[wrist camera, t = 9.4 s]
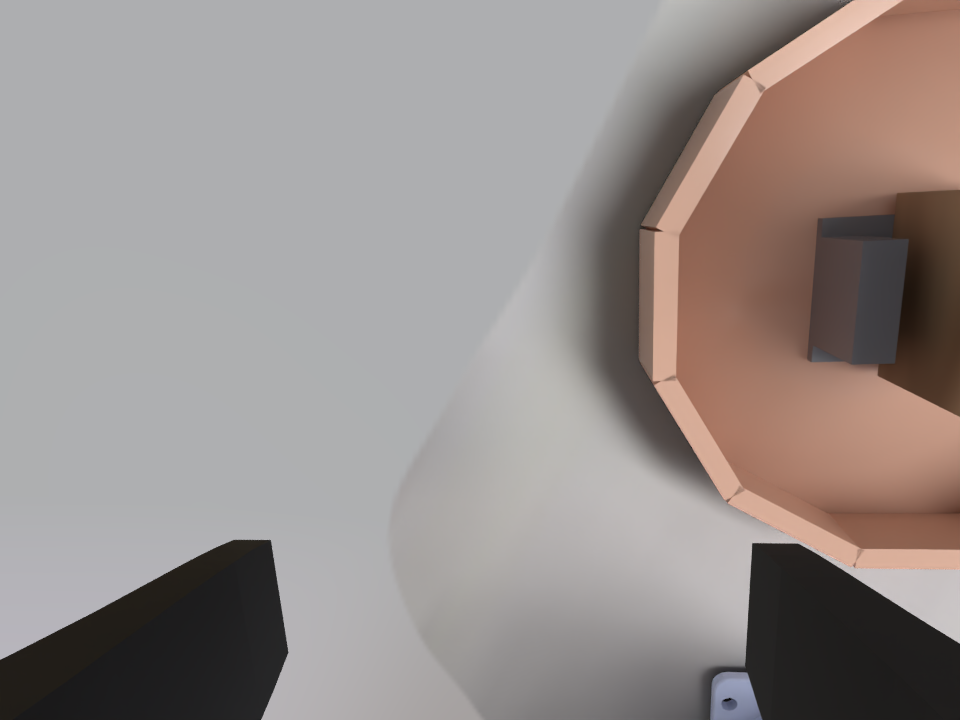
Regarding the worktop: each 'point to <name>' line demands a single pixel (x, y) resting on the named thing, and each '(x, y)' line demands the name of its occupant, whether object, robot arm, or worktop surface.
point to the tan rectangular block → (929, 298)
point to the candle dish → (812, 286)
